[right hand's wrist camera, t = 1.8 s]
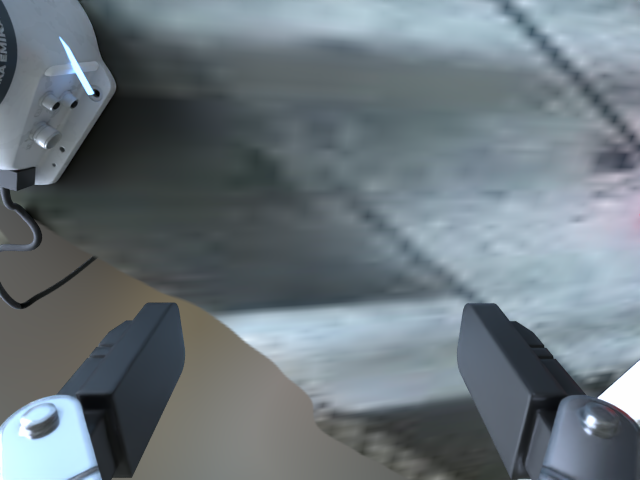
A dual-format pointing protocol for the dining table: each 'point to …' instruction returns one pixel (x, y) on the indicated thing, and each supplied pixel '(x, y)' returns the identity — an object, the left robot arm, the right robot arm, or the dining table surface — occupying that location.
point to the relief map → (625, 394)
